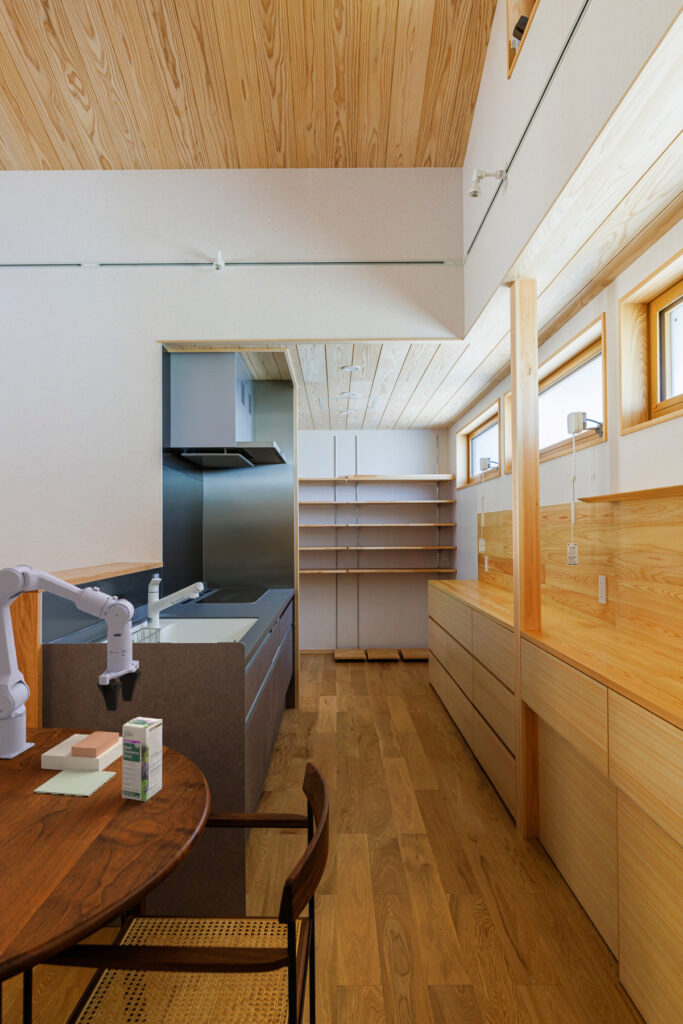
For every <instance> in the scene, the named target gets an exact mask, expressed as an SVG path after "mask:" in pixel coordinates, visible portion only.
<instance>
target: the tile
mask: <svg viewBox="0 0 683 1024" xmlns="http://www.w3.org/2000/svg"><path fill="white" fill-rule="evenodd" d="M88 735H89V736H88V737H86V738H84V739H83V740H81V741H80V742H78V743H77V744H75V745H74V746H72V747H71V756H79V757H93V758H97V757H98V756H99V755H101V754H102V753H104V752H105V751H106V750H108V749H109V748H110V747H112V746H113V745H115V744H116V743H117V742H119V737H120V733H119V732H112V731H111V732H110V731H94V732H92V733H91V734H88Z"/></svg>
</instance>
